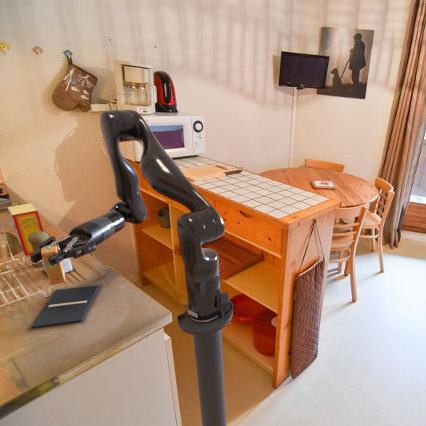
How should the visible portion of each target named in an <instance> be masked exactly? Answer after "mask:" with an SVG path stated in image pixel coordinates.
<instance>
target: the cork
mask: <svg viewBox="0 0 426 426" xmlns="http://www.w3.org/2000/svg"><path fill="white" fill-rule="evenodd" d="M48 238H50V236H49V234H48V233H47V231H44V232H41V231H40V232H35V233H32V234H30V235H29V237H28V241H29V242H30V243H31V244H32V248H33V254H34V253H36V252H38V251H40V249H39V245H40V244H41V243H43V242H44V241H46V240H47V239H48ZM33 264H34V263H33ZM34 266H35V267H43V264H42V261H41V262H39V263H36V264H34Z"/></svg>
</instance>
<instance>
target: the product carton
mask: <svg viewBox="0 0 426 426" xmlns="http://www.w3.org/2000/svg"><path fill="white" fill-rule="evenodd" d="M58 249H59V245H58ZM59 250H60V249H59ZM61 262H62V266H63V269H64V273H65V274H66V273H68V272H72V271H73V265H72V263H71V258H69V259H64V260H63V261H61ZM42 264H43V266H42V267H43V271H44V272H45V273H46V274H47V272H46V268H45V265H44V262H43V260H42Z"/></svg>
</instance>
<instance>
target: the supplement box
mask: <svg viewBox="0 0 426 426" xmlns="http://www.w3.org/2000/svg"><path fill="white" fill-rule="evenodd" d="M57 253H58V248H57V246H53V247H47V248H42V249H41V255H42V258H43V262H44V265H45V268H46V272H47V273H46V272H45V273H46V274H47V278H48V281H49V284H50V286H55V285H59V284H62V283H66V278H67V277H66V273H64V269H63V266H62V262H59V263H57V264H55V265H50V264H49V261H48V259H49V257H51V256H53V255H55V254H57Z"/></svg>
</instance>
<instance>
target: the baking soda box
mask: <svg viewBox="0 0 426 426" xmlns="http://www.w3.org/2000/svg"><path fill="white" fill-rule="evenodd" d="M6 208H7V211H8V214H9V218H10V220H11V223H12V226H13V229H14V233H15V235H16V238H17V241H18V244H19V247H20V249H21V251H22V253H23V254H24V256H25V257H27V256H31V255H32V254H33V248H32V244H31V243H30V242H29V241H28V237H29V235H30V234H32V233H35V232H40V231H41V232H45V231H44V228H43V225H42V220H41V218H40V215H39V210H38V209H37V208H36V207H35V205H34V204H33V203H32V202H30V203H29V202H28V203H22V204H16V205H10V206H7V207H6Z"/></svg>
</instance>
